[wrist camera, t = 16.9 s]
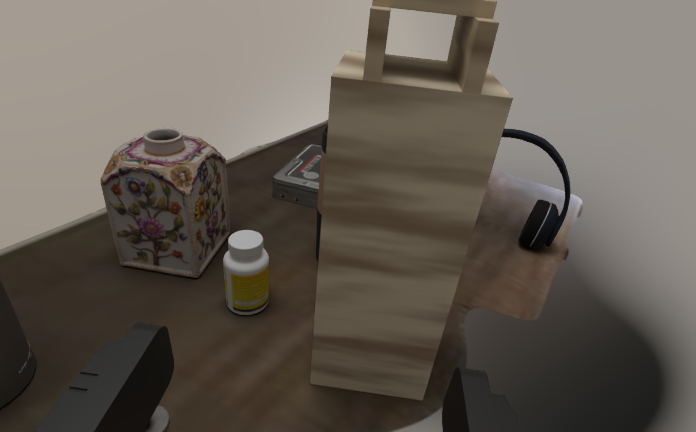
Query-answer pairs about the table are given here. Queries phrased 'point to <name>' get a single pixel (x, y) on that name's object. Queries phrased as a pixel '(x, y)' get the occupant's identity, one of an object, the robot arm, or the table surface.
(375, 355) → the socket tower
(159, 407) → the lighter
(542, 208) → the headphones
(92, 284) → the table surface
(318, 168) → the hard drive
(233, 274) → the supplement bottle
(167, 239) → the decorative jar
